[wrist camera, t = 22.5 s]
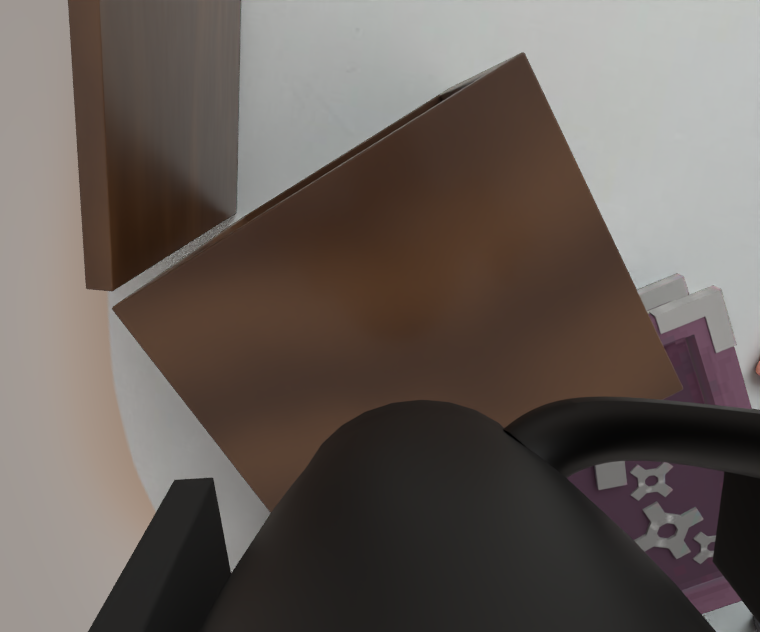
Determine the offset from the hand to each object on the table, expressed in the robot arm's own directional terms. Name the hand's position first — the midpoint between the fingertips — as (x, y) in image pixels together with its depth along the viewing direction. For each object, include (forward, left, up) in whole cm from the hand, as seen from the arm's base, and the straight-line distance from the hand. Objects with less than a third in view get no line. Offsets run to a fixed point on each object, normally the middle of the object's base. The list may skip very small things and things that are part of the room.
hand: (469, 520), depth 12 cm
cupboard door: (-11, -13, -31) cm, 35 cm away
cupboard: (+1, -1, -31) cm, 31 cm away
